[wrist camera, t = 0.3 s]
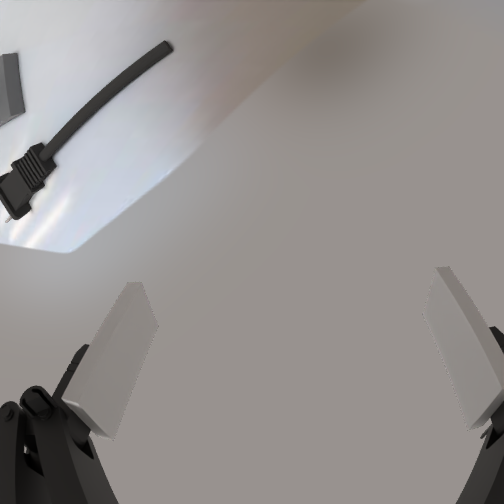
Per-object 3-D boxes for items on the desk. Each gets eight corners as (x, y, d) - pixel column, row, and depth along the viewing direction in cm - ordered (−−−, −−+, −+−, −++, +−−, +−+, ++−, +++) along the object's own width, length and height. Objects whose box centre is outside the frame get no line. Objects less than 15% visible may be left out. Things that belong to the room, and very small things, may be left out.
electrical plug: (-2, 188, 42) (-19, 198, 37) (158, 25, 30) (144, 18, 26) (20, 222, 45) (5, 235, 41) (190, 72, 34) (180, 70, 29)
